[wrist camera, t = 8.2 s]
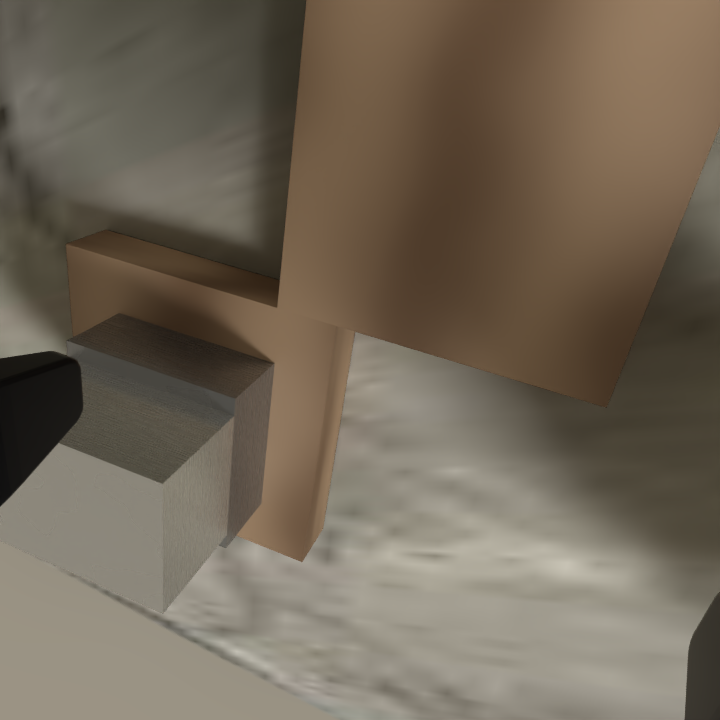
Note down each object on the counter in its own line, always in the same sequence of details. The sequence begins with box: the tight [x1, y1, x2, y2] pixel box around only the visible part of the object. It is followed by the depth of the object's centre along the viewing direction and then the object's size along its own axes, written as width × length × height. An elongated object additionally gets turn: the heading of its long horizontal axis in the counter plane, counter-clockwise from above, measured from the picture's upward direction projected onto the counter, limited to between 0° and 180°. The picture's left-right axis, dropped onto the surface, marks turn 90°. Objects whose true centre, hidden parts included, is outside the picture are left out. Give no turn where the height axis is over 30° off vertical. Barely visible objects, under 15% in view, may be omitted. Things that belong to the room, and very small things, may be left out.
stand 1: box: [66, 230, 355, 562], centre depth 24 cm, size 10×10×2 cm
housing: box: [0, 313, 275, 614], centre depth 20 cm, size 6×6×6 cm
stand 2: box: [277, 0, 720, 408], centre depth 17 cm, size 10×10×2 cm
